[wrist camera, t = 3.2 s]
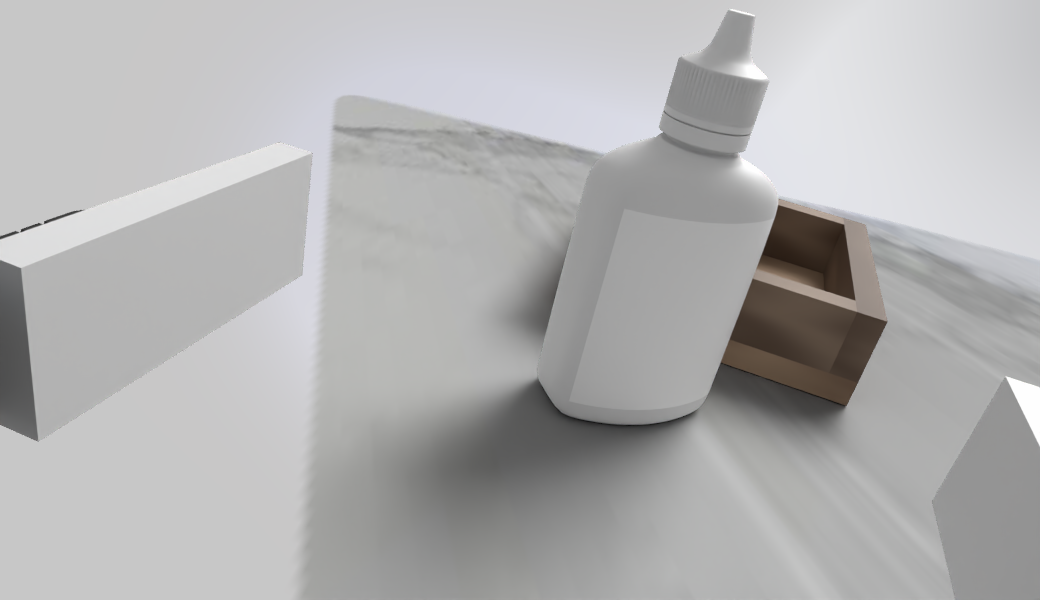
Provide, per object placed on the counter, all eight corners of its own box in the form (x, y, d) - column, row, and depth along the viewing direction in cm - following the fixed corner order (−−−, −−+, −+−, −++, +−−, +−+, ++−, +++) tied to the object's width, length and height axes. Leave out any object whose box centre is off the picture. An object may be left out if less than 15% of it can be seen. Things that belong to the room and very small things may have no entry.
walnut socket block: (835, 291, 37) (865, 224, 36) (846, 406, 28) (887, 321, 26) (617, 222, 39) (635, 156, 38) (556, 305, 30) (578, 222, 28)
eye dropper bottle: (708, 458, 23) (872, 51, 18) (525, 410, 23) (632, -7, 18) (700, 381, 27) (832, 28, 22) (543, 341, 27) (636, -19, 22)
